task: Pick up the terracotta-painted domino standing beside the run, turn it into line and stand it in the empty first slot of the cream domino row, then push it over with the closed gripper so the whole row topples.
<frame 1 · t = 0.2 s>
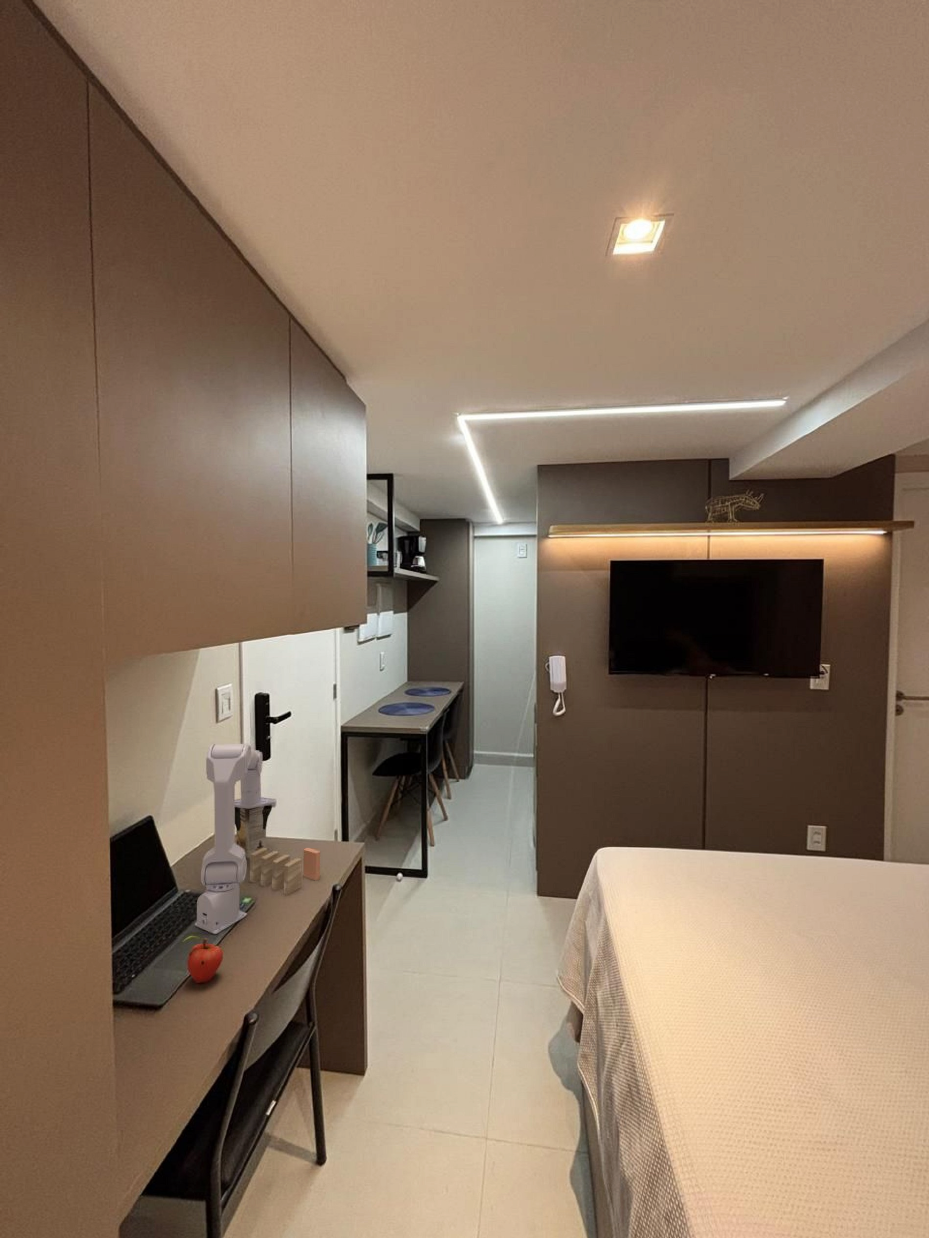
hand: (251, 828, 167), 11 cm above the table, tool pointing down, fingers open, 7 cm apart
cream domino 3: (280, 885, 153), on the table
cream domino 4: (269, 882, 155), on the table
cream domino 2: (292, 890, 151), on the table
coffee box: (251, 851, 175), on the table
apple: (202, 980, 115), on the table
terracotta domino: (311, 877, 159), on the table
cream domino 5: (258, 878, 158), on the table
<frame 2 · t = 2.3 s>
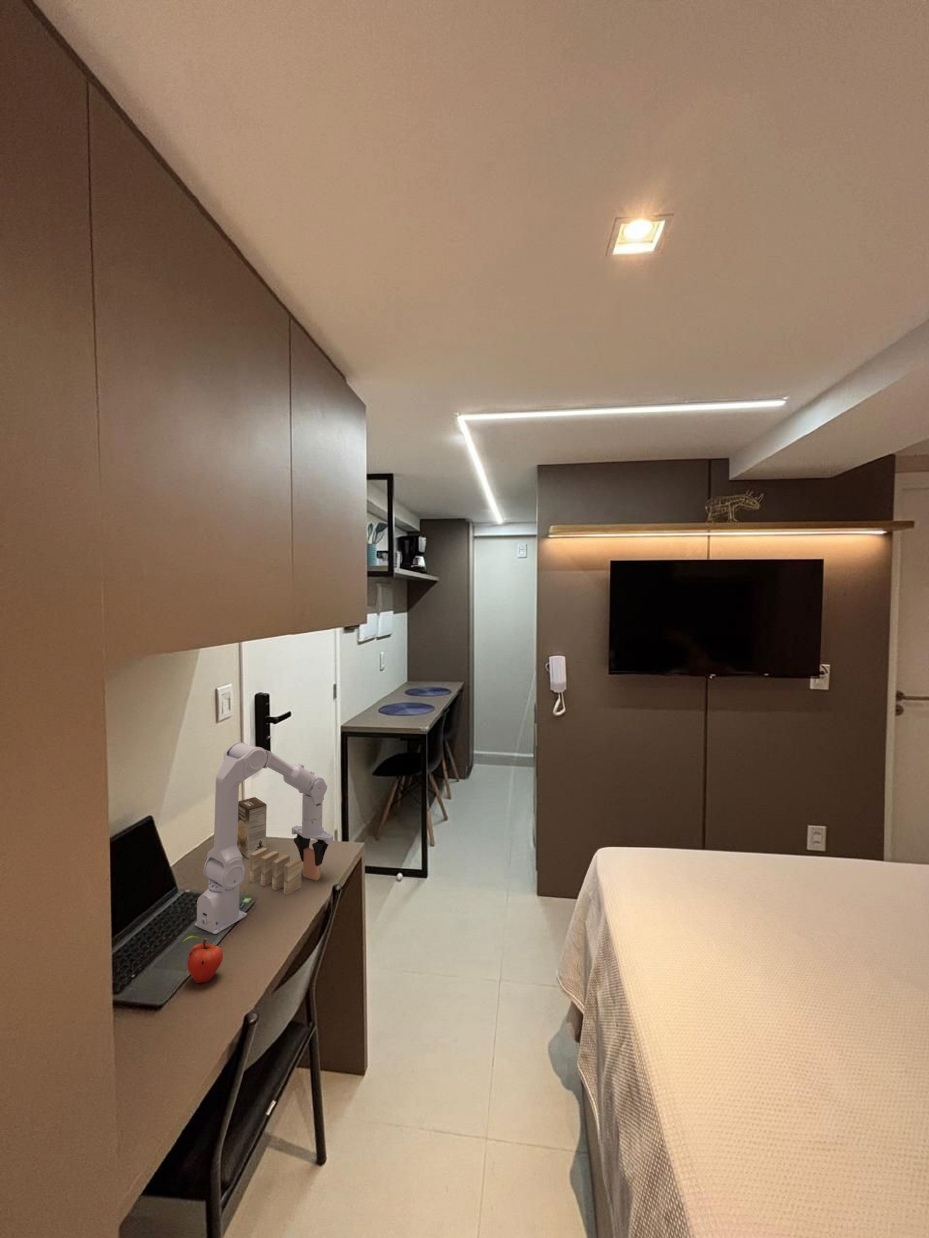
hand: (311, 862, 159), 4 cm above the table, tool pointing down, fingers closed on terracotta domino, 5 cm apart
terracotta domino: (311, 877, 159), on the table, touching gripper
everything else where it was.
when the fingers open (5 cm above the table, at t = 6.3 s): terracotta domino stays where it is, on the table.
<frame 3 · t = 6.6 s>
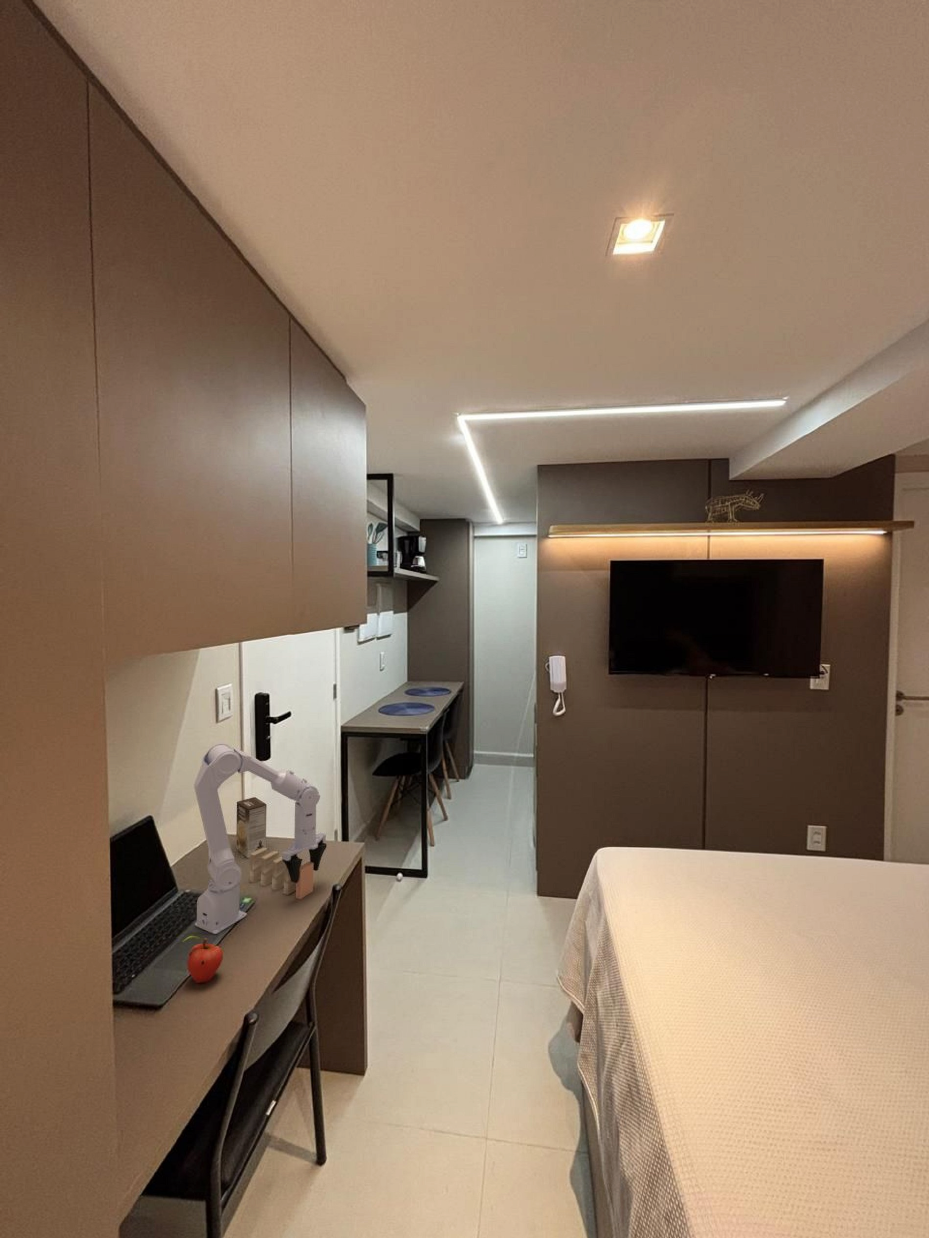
hand: (304, 875, 149), 5 cm above the table, tool pointing down, fingers open, 7 cm apart
terracotta domino: (304, 894, 149), on the table
everything else where it was.
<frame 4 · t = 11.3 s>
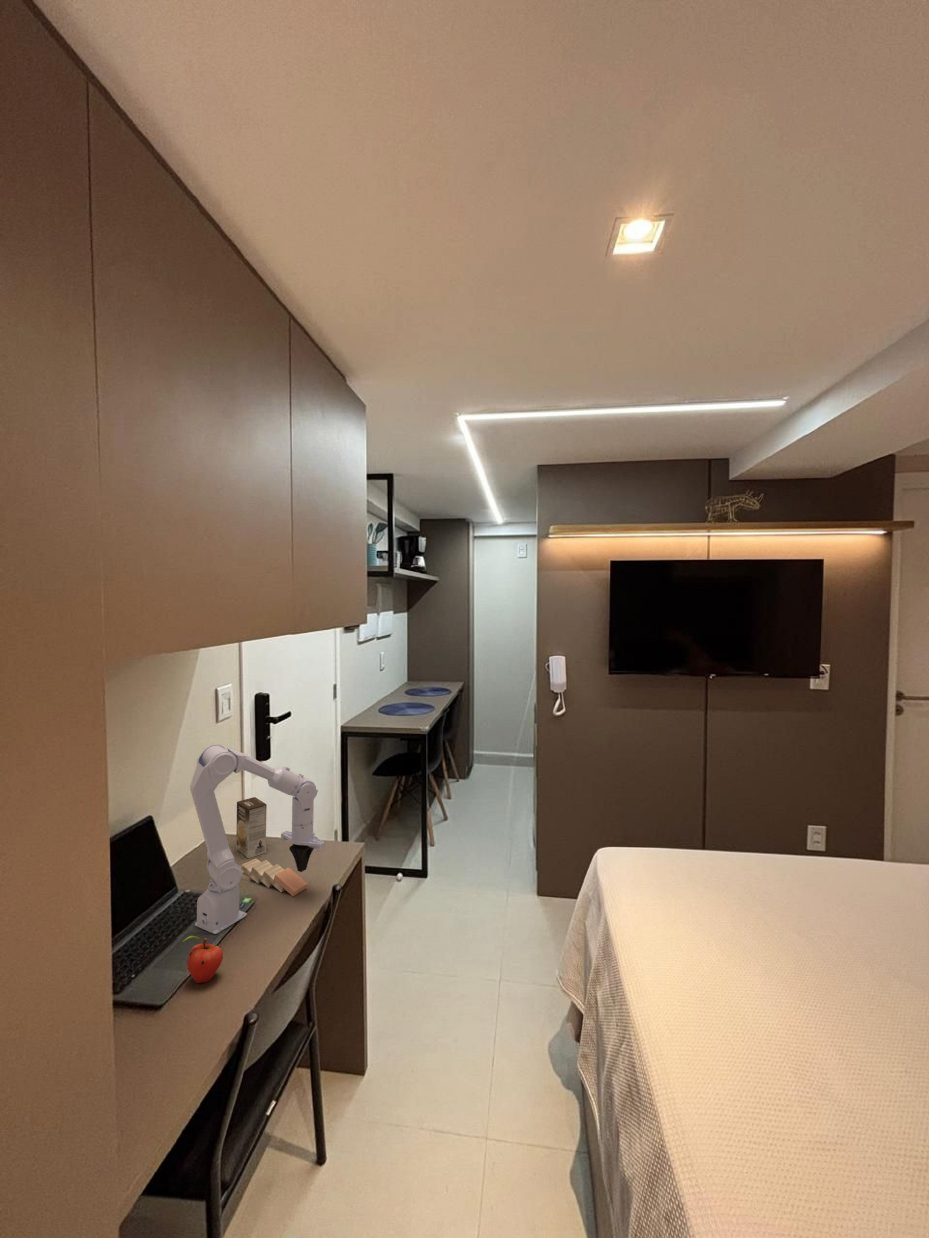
hand: (302, 870, 150), 6 cm above the table, tool pointing down, fingers closed
cream domino 3: (276, 881, 154), point 1 cm above the table, tilted 69°, touching cream domino 4
cream domino 4: (265, 877, 156), point 1 cm above the table, tilted 75°, touching cream domino 3
cream domino 2: (288, 886, 152), point 1 cm above the table, tilted 69°, touching terracotta domino
terracotta domino: (300, 889, 150), point 1 cm above the table, tilted 69°, touching cream domino 2
cream domino 5: (256, 876, 158), on the table, tilted 90°
everything else where it was.
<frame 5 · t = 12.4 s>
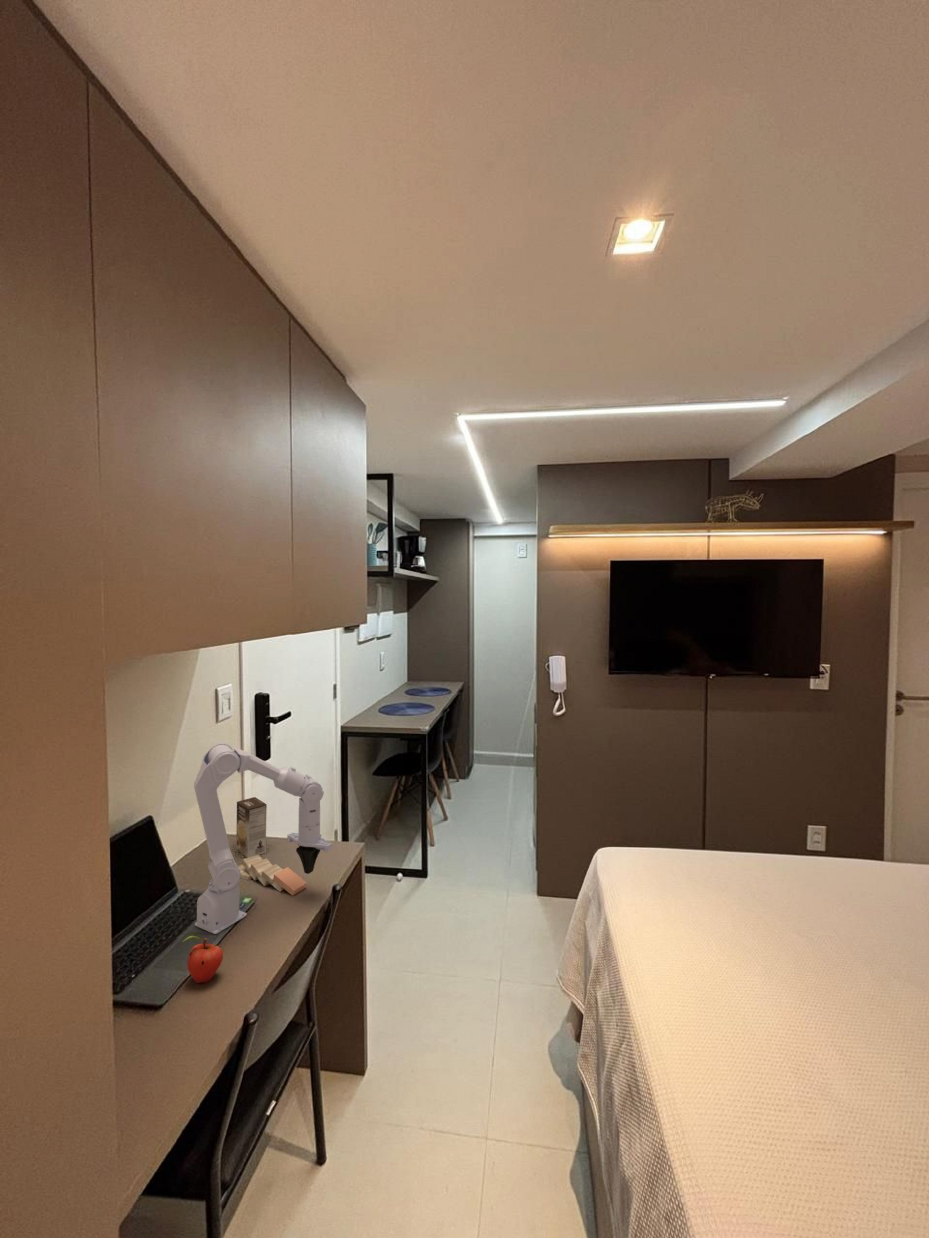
hand: (308, 871, 148), 7 cm above the table, tool pointing down, fingers closed
cream domino 3: (272, 880, 154), point 1 cm above the table, tilted 70°, touching cream domino 2, cream domino 4
cream domino 4: (263, 875, 157), point 1 cm above the table, tilted 74°, touching cream domino 3, cream domino 5
cream domino 2: (287, 885, 152), point 1 cm above the table, tilted 70°, touching cream domino 3, terracotta domino
cream domino 5: (255, 876, 158), on the table, tilted 90°, touching cream domino 4
everything else where it was.
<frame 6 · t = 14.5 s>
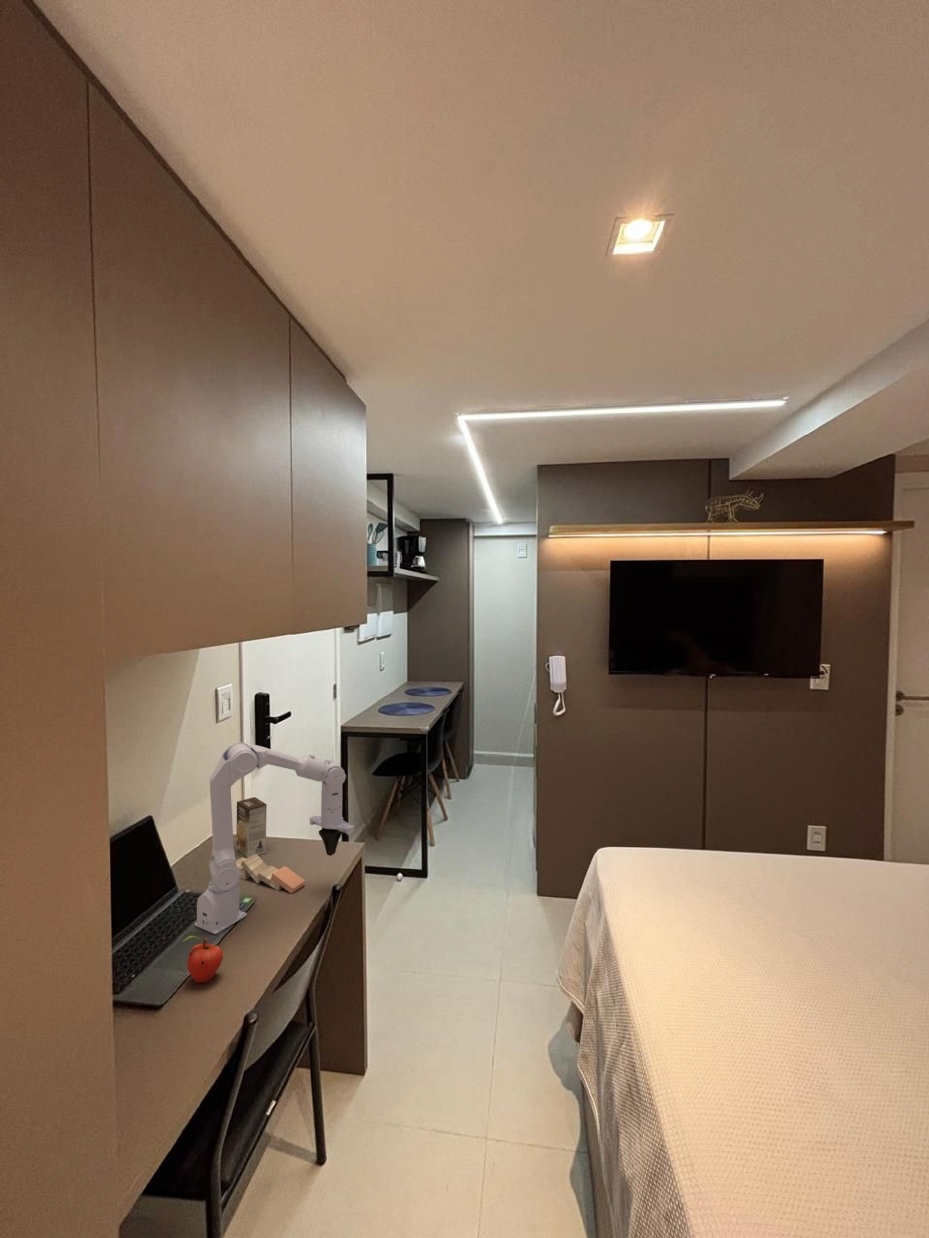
hand: (331, 853, 151), 10 cm above the table, tool pointing down, fingers closed
cream domino 3: (265, 877, 156), point 1 cm above the table, tilted 61°
cream domino 4: (252, 870, 159), point 2 cm above the table, tilted 90°, touching cream domino 5
cream domino 2: (285, 883, 153), point 1 cm above the table, tilted 76°, touching terracotta domino
terracotta domino: (298, 887, 151), point 1 cm above the table, tilted 71°, touching cream domino 2
cream domino 5: (252, 875, 159), on the table, tilted 90°, touching cream domino 4
everything else where it was.
at the end: cream domino 5 tilted 90°; terracotta domino tilted 71°; terracotta domino inside the target area (2.0 cm from its centre), point 0.8 cm above the table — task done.
